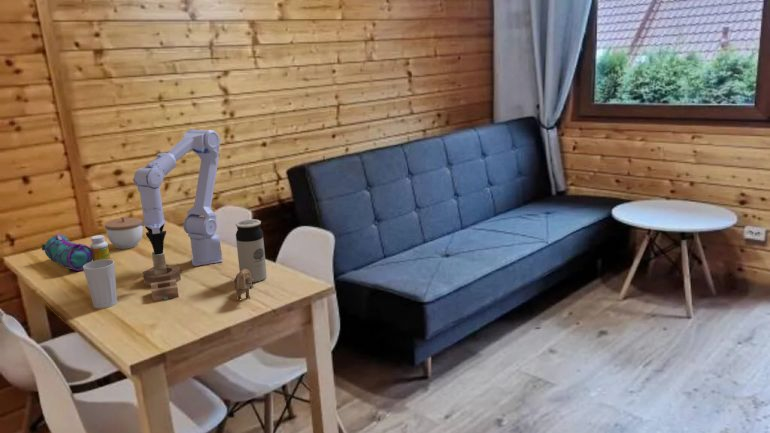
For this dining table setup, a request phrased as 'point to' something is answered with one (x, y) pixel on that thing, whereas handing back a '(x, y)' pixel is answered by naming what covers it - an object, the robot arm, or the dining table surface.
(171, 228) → the dining table surface
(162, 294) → the threaded bead
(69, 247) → the pencil case
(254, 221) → the travel mug
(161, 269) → the brown and teal block
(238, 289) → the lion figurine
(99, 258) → the supplement bottle
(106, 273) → the cup
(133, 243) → the lidded bowl
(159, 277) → the brown faceted ring
